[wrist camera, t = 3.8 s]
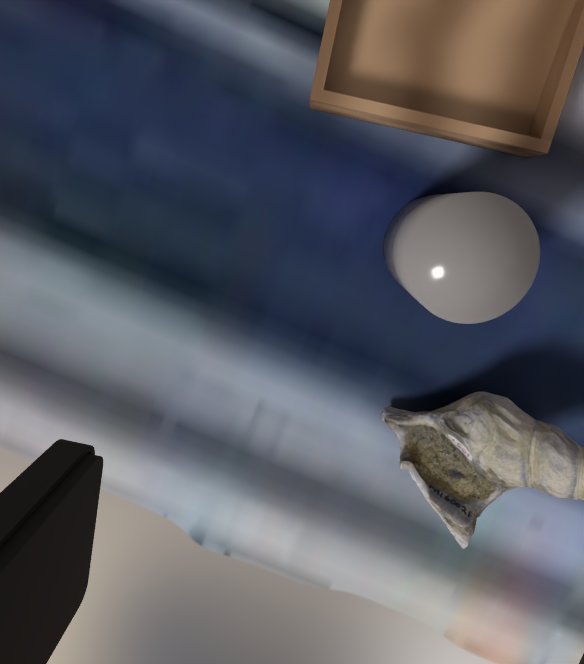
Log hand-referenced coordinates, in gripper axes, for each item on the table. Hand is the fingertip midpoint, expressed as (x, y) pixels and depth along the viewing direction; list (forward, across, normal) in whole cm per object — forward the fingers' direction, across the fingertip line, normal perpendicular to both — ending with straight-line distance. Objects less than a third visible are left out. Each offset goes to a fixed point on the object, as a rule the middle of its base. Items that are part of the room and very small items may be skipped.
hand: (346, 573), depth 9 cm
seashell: (+28, -15, +9) cm, 33 cm away
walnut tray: (+28, -4, -20) cm, 35 cm away
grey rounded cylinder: (+28, -7, -5) cm, 30 cm away
